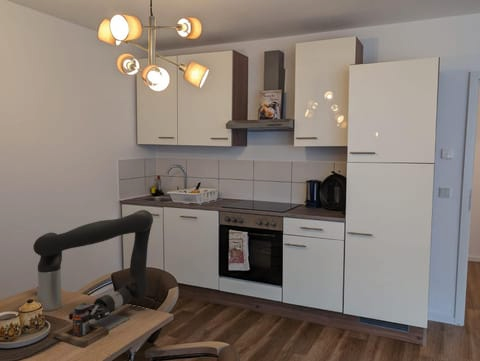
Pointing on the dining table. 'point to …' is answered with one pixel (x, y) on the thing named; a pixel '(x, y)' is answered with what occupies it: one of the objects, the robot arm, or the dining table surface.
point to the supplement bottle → (79, 327)
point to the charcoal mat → (110, 321)
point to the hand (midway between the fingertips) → (75, 318)
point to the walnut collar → (86, 340)
